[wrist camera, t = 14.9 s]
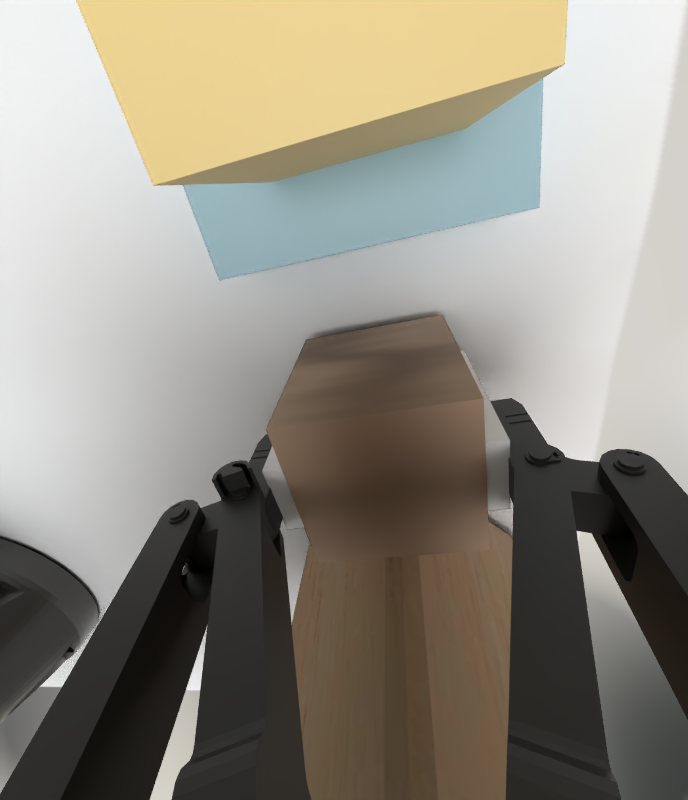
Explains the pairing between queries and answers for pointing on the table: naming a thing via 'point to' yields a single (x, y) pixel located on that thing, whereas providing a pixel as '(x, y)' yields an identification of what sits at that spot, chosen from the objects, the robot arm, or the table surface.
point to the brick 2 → (385, 443)
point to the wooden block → (406, 674)
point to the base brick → (378, 194)
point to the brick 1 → (311, 77)
